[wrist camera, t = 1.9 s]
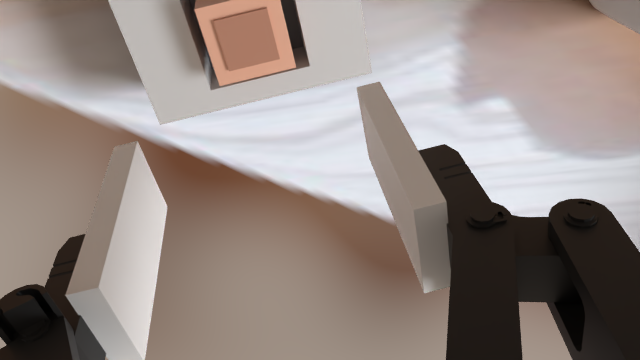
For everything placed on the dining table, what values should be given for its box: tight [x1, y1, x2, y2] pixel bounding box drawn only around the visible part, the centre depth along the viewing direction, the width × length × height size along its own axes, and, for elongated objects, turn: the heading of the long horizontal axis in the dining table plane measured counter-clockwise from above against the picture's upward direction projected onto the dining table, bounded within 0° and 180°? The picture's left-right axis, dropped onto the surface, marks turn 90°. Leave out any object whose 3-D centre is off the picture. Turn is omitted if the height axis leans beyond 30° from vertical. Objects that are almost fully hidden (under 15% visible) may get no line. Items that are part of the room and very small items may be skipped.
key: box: [194, 0, 296, 86], centre depth 28 cm, size 4×4×3 cm
